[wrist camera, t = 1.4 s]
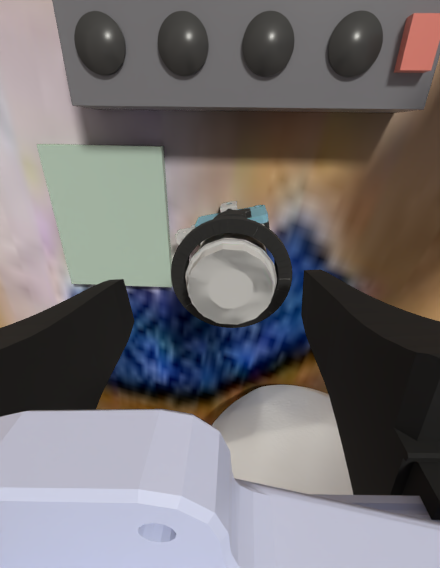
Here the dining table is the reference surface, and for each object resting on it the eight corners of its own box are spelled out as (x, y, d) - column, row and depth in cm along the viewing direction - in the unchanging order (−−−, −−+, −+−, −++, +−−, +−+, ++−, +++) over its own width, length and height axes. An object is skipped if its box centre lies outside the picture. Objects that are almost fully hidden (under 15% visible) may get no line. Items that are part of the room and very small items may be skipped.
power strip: (423, -1, 15) (474, -36, 12) (394, 112, 17) (430, 108, 14) (79, 0, 16) (39, -33, 12) (96, 109, 18) (66, 104, 15)
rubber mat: (163, 146, 19) (161, 146, 18) (173, 283, 23) (171, 287, 23) (42, 144, 19) (36, 144, 18) (75, 280, 24) (71, 283, 23)
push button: (188, 264, 23) (156, 350, 14) (169, 195, 20) (117, 244, 11) (274, 250, 22) (300, 333, 13) (265, 176, 19) (290, 214, 10)
